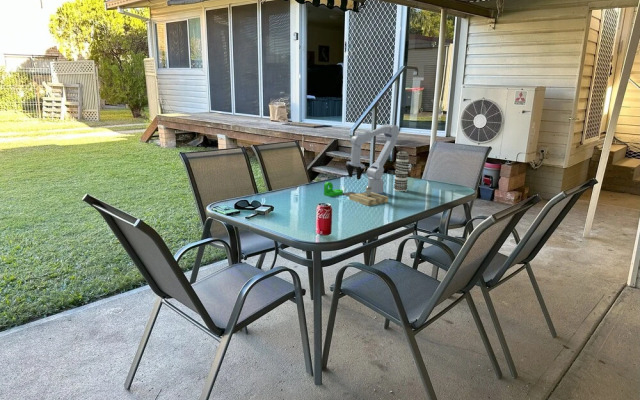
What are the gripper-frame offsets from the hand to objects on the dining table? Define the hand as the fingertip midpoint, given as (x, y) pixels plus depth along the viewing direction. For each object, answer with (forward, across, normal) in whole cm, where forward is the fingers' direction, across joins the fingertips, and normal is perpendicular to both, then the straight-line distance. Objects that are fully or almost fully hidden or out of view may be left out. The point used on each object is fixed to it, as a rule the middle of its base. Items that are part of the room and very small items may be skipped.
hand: (354, 178), depth 262 cm
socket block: (+10, +16, -2) cm, 19 cm away
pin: (+10, +16, -3) cm, 19 cm away
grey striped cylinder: (+10, +6, +35) cm, 37 cm away
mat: (+10, -1, -1) cm, 11 cm away
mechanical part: (+11, -6, -10) cm, 16 cm away
